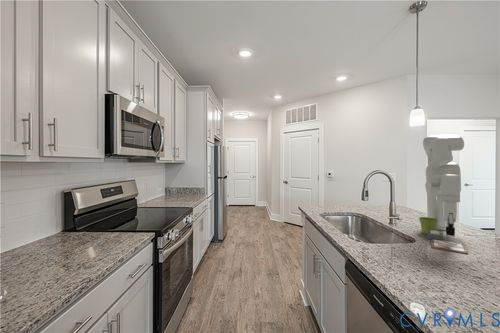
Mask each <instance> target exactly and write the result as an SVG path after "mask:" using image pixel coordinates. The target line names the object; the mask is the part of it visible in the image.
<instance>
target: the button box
mask: <svg viewBox="0 0 500 333" xmlns="http://www.w3.org/2000/svg"><path fill="white" fill-rule="evenodd" d="M432 239H437V240H444V233H443V232H440V235H436V234H430V231H427V233H426V240H432Z"/></svg>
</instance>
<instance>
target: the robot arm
mask: <svg viewBox="0 0 500 333" xmlns="http://www.w3.org/2000/svg"><path fill="white" fill-rule="evenodd" d="M422 145H423V149H424V153H425V154H426V155H427V156H426V158H427V166H426V169H425V180H426V181H425V185H424V186H425V193H426V214H427V215H426V217H429V218H435V219H438V222H437V224H436V230H435V231H445V233H446V234H445V235H446V236H447V235H451V236H454V237H455V235H456V228H455V223H456V222H457V215H458V214H457V213H458V203H461V191H462V178H461V177H462V176H461V175H462V174H461V167H460V165H459V164H458V163H456V162H453V160H454V158H453V157H454V156H453V152H454V151H462V150H463V149H464V147H465V141H464V138H463V137H462V136H461V135H458V134H440V135H439V134H437V135H429V136H426V137H424V138H423V140H422ZM446 220H447V225H446ZM448 220H449V221H448ZM448 222H449V223H448Z"/></svg>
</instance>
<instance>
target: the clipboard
mask: <svg viewBox="0 0 500 333" xmlns="http://www.w3.org/2000/svg"><path fill="white" fill-rule="evenodd" d="M431 249H435V250H440V251H441V250H442V251H446V252H451V253H459V254H464V255H468V254H469V252H468V250H467V248H466V245H465V243H462V242H456V241H450V240H444V239H443V240H437V239H431Z"/></svg>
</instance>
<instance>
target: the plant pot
mask: <svg viewBox="0 0 500 333" xmlns="http://www.w3.org/2000/svg"><path fill="white" fill-rule="evenodd" d="M418 219H419V222H420V228H421V232H422V234H426V235H427V231H430V230H435V231H437V230H436V224H437V222H438V219H435V218H429V217H427V216H421V217H418Z"/></svg>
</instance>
